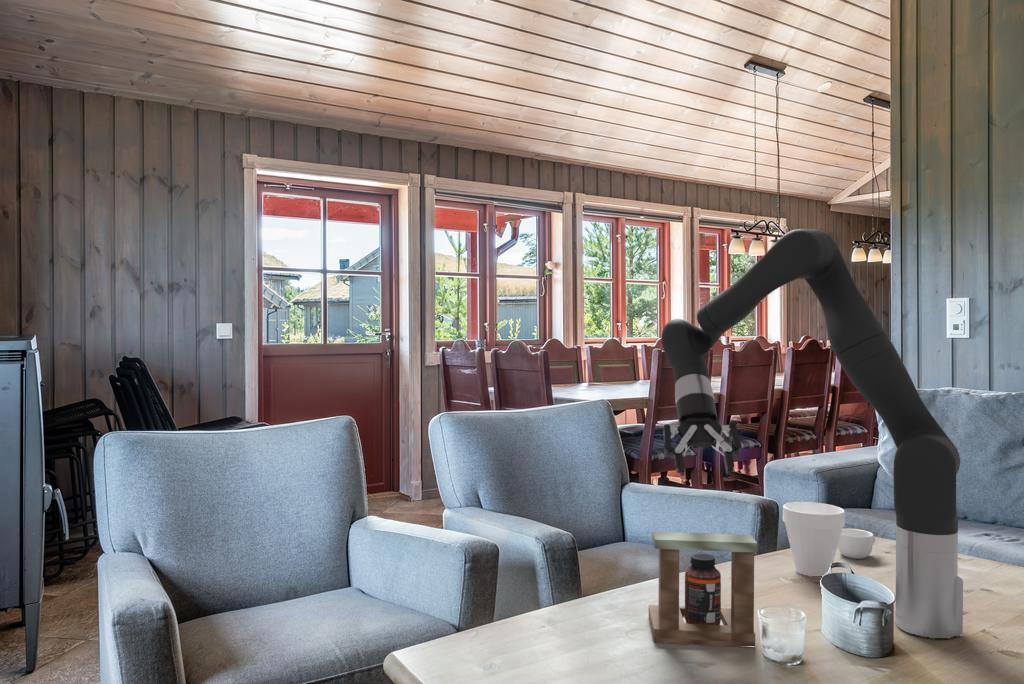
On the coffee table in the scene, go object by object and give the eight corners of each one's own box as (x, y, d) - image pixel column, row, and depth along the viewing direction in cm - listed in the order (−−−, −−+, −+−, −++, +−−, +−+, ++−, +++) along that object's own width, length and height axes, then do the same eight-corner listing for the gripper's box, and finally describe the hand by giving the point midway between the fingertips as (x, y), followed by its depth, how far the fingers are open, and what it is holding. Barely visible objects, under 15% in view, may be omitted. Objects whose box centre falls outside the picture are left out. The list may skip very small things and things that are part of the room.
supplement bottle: (721, 631, 122) (721, 562, 122) (684, 628, 123) (684, 560, 123) (720, 618, 127) (719, 552, 128) (684, 615, 129) (684, 550, 129)
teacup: (854, 562, 164) (855, 538, 164) (828, 553, 171) (828, 530, 171) (888, 558, 167) (888, 534, 167) (860, 549, 175) (861, 526, 175)
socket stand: (741, 621, 129) (742, 524, 129) (756, 650, 117) (757, 543, 117) (648, 617, 130) (649, 521, 130) (654, 645, 119) (654, 539, 118)
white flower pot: (825, 585, 148) (826, 517, 148) (770, 570, 158) (771, 506, 158) (855, 573, 156) (856, 509, 156) (801, 559, 165) (801, 499, 165)
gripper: (660, 392, 146) (668, 464, 136) (733, 389, 145) (747, 462, 134) (658, 413, 152) (666, 484, 142) (729, 411, 150) (742, 482, 140)
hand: (705, 473), depth 138 cm, fingers open, 8 cm apart
